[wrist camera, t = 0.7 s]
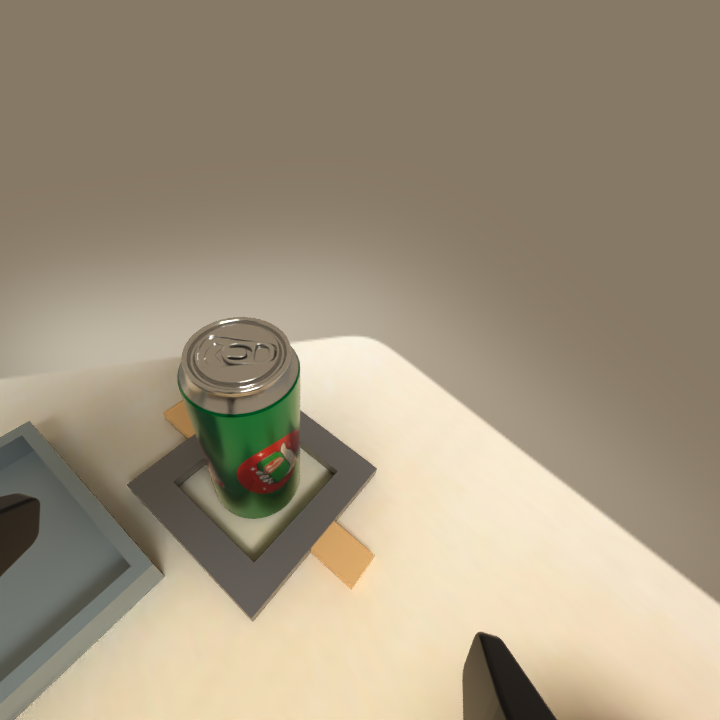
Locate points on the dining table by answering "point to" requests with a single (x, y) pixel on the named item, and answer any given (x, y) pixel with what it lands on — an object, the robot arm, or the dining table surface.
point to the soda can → (245, 412)
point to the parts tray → (60, 573)
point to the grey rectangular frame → (303, 535)
